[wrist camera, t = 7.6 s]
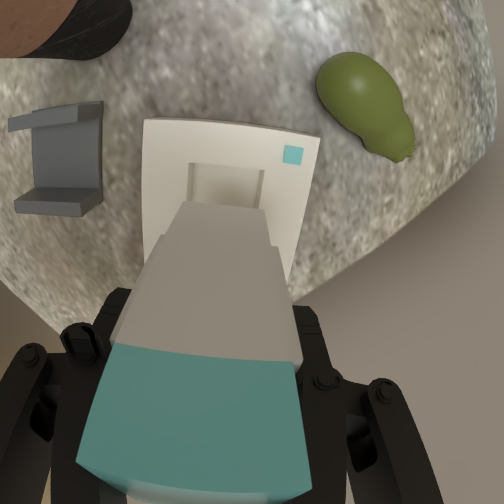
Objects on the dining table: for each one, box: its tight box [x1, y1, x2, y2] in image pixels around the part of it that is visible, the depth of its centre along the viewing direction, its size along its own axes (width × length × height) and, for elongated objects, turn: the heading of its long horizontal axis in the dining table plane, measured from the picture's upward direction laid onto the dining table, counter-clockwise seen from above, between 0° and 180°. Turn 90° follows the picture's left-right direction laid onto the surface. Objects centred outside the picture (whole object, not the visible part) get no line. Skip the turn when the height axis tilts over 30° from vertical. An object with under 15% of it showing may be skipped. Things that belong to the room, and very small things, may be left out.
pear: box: [316, 52, 416, 163], centre depth 17 cm, size 6×5×10 cm
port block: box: [142, 117, 320, 282], centre depth 21 cm, size 12×12×4 cm
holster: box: [8, 101, 103, 217], centre depth 18 cm, size 8×9×4 cm
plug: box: [76, 201, 312, 504], centre depth 9 cm, size 4×5×12 cm
